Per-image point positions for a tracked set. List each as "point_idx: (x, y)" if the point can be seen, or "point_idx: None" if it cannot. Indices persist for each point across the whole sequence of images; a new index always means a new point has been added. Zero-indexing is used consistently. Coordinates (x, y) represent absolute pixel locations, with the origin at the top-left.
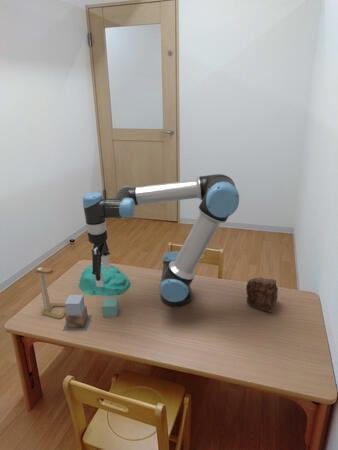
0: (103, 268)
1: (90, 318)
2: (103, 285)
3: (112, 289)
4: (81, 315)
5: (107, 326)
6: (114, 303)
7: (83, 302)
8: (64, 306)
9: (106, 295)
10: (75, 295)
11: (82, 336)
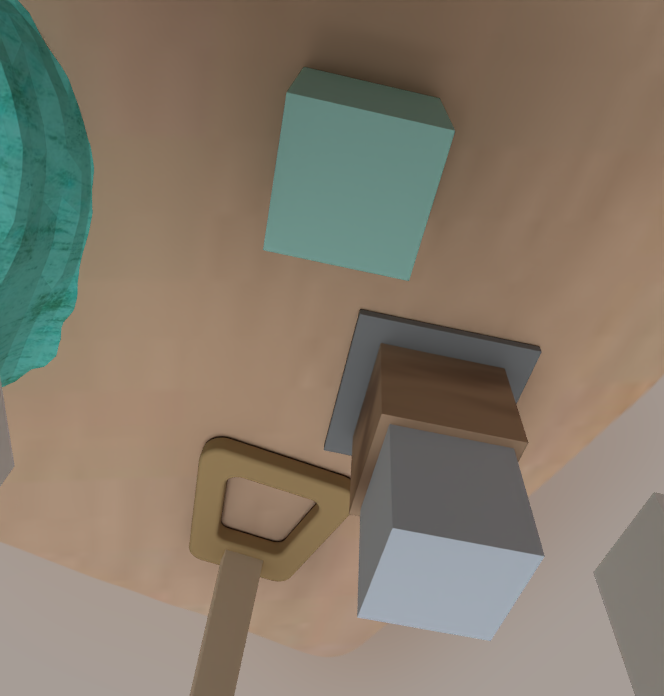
0: (3, 476)
1: (401, 326)
2: (659, 494)
3: (25, 141)
4: (512, 446)
5: (541, 192)
6: (390, 142)
7: (414, 474)
8: (225, 483)
9: (82, 194)
10: (381, 580)
11: (581, 370)
